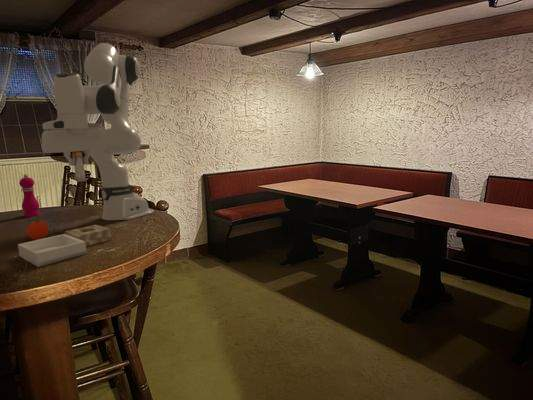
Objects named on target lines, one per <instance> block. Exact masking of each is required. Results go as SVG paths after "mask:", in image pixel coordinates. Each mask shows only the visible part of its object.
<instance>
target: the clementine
mask: <svg viewBox="0 0 533 400" xmlns="http://www.w3.org/2000/svg"><path fill="white" fill-rule="evenodd" d="M49 232H50V228H49V226H48V224H47V223H46V222H45V221H42V220H33V221H30V222H28V223H27V224H26V233H27V236H28V237H30V239H32V240H33V241H35V240H39V239H44V238H47V236H48V235H49Z"/></svg>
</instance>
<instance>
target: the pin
mask: <svg viewBox="0 0 533 400" xmlns="http://www.w3.org/2000/svg"><path fill="white" fill-rule="evenodd" d="M71 154H72V160H75V165H73V167H74V168H73V169H74V173H75V181H76V183H81V182H86V181H87V178H86V171H85V166H84V165H85V164H84V162H83V159H84V156H83V155H84V154H83V151H74V152H72V153H71Z"/></svg>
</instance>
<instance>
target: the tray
mask: <svg viewBox="0 0 533 400" xmlns="http://www.w3.org/2000/svg"><path fill="white" fill-rule="evenodd" d="M17 248H18V254H19V257H20V258H22V259H24V260H25V261H27V262H29V263H31V264H32V265H34V266H35V267H38V268H39V267H40V268H41V267H42V266H47V265H50V264H53V263H58V262H61V261H64V260H68V259H69V260H70V259H73V258H77V257H80V256H84V255H87V254H88V252H87V251H88V250H87V246H86V244H85V241H82V240H80V239H77V238H74V237H71V236H69V235H66V234H65V233H62V234H59V235H53V236H49V237H45V238H43V239H39V240H31V241H28V242H22V243H17Z"/></svg>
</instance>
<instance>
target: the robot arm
mask: <svg viewBox="0 0 533 400" xmlns="http://www.w3.org/2000/svg"><path fill="white" fill-rule="evenodd" d="M83 65H84V66H83V67H84V71H85V73H86V75H87V77H89V79H91V80H92V81H93V82H95V83H98V84H101V85H83V83H82V78H81V76H80V75H79V74H78V73H74V72H71V73H58V74H56V75H54V78H53V95H54V101H55V104H56V106H57V112H56V115H57V118H55V119H52V120H50V121H45V122H43V123H42V126H41V127H42V129H43V132H42V133H41V149H42V151H43V152H44V153H45V154H57V153H58V154H59V153H63V157H64V158H65V159H66V160H67V161H68V165H69V166H71V167H74V165H75V160H73V158H71V154H72V153H71V152H83V155H84V156H83V162H84V165H89V158H90V157H91V158H92V159H93V161H94V162H95V163H96V165H97V167H98V170H99V173H100V179H101V196H102V199H103V207H102V208H103V212H102V217H101V219H102V220H105V221H120V220H121V221H124V220H126V221H127V220H128V221H129V220H133V219H136V218H139V217H140V218H141V217H144V216H147V215H150V214H155V210H154V209H152V208H149V204H148V202H147V199H146V198H144V197H142V196H140V195H139V194H137V193H136V192H135V191H136V190H137V189H138V185H135V184H134V185H131V184H130V183H129V174H128V168H127V167H126V165H124V164H123V163H121V162H119V161H117V159H116V158H115V155H128V154H132V153H137V152H138V151H139V149H140V147H141V144H142V143H141V142H142V141H141V135H139V132H138V131H136V130H135V129H134V128H133V127H132V126H131V124H130V122H129V107H130V89H129V86H132V85H133V83H134V82H136V81H137V79H138V78H140V77H139V76H140V72H141V66H140V63H139V60H138V59H137V57H135V56H133V55H129V54H127V55H124V54H119V53H118V50H117V49H116V48H115V46H114V45H112V44H110V43H108V42H101V43H99V44H97V45H95V46H94V47H93V48H92V49H91V51H90V52H89V53H88V55H87V56H86V57H85V60H84V64H83ZM88 115H101V119H102V120H103V121H104V122H106V124H108V125H110V128H105V126H104V125H103V124H102V123H100V122H97V123H96V122H95V123H92V122H88V121H89V120H88Z"/></svg>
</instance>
